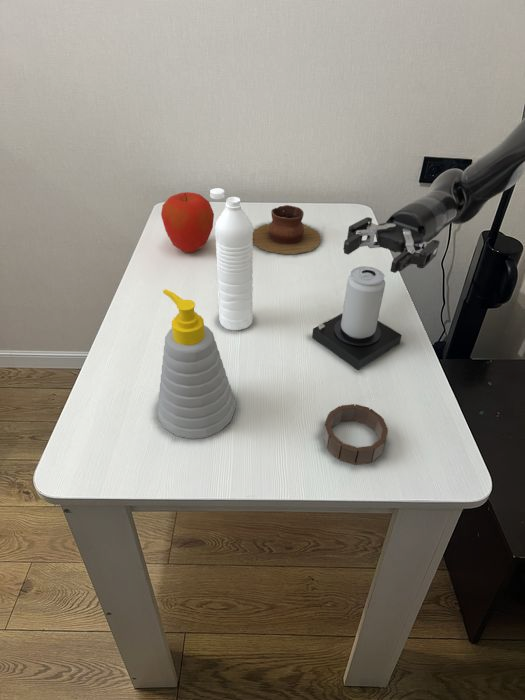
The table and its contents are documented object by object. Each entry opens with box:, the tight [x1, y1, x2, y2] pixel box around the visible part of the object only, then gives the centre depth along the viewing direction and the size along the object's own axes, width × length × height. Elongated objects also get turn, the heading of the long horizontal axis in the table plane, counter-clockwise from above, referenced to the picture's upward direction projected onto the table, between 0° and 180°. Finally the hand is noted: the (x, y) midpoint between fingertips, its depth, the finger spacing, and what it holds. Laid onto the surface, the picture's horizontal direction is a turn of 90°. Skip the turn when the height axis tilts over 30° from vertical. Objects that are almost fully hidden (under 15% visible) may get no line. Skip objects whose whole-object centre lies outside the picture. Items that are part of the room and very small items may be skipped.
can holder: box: [322, 403, 389, 465], centre depth 73 cm, size 9×9×3 cm
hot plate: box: [311, 312, 403, 370], centre depth 91 cm, size 12×12×3 cm
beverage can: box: [341, 265, 386, 339], centre depth 87 cm, size 6×6×12 cm
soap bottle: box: [157, 288, 237, 440], centre depth 72 cm, size 12×12×20 cm
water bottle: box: [209, 187, 254, 331], centre depth 89 cm, size 9×6×25 cm
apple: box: [160, 191, 215, 254], centre depth 114 cm, size 12×12×14 cm
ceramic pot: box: [252, 204, 322, 255], centre depth 121 cm, size 18×18×7 cm
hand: (369, 257), depth 76 cm, fingers open, 8 cm apart
